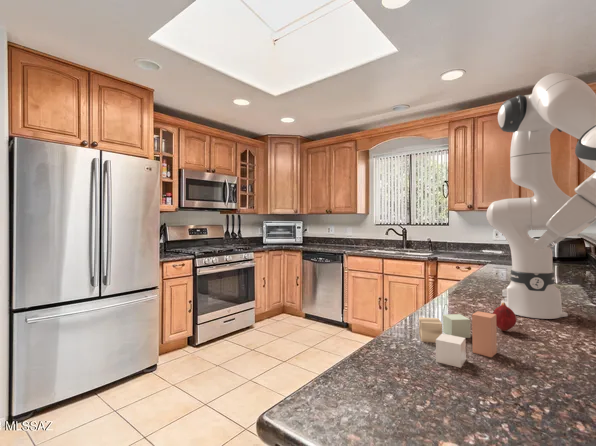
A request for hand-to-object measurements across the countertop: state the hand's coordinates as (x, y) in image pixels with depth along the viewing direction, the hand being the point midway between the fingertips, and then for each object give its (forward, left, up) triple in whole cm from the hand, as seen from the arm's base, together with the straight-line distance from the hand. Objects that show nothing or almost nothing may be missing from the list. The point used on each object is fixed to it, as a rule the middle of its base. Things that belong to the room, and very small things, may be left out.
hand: (541, 246), depth 69 cm
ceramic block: (+5, -18, -26) cm, 32 cm away
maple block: (-8, -23, -26) cm, 35 cm away
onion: (-22, -4, -26) cm, 34 cm away
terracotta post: (-3, -11, -25) cm, 28 cm away
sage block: (-14, -16, -26) cm, 33 cm away
